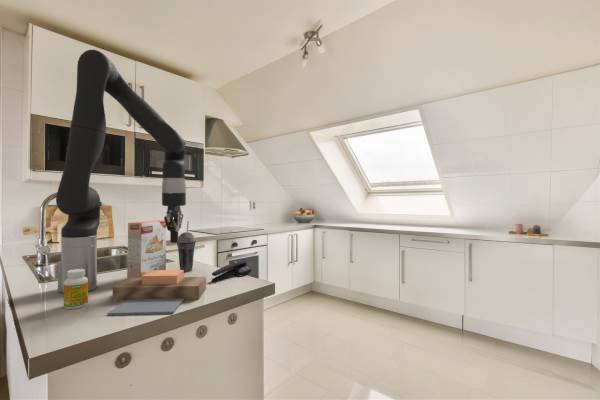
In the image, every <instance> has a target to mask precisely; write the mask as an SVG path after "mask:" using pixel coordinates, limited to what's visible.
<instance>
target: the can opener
mask: <svg viewBox="0 0 600 400" xmlns="http://www.w3.org/2000/svg"><path fill="white" fill-rule="evenodd" d="M247 265H248V264H247V261H246V260H245V259H242V260H238V261H233V262H231V263H230V264H227V265H225V266H223V267H219V268H217V269H216V270H214V271H212V272H211V275H212V277H213V276H214V277H213V278H211V282H213V283H217V282H220V281H222V280H225V279H226V278H229V277H230V276H234V275H236V276H238V277H239V276H240V277H245V276H247V275H249V274H250V273H251V272H252V270H253V269H252V267H251V268H250V267H249V266H247ZM244 275H245V276H244Z"/></svg>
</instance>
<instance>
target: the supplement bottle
mask: <svg viewBox="0 0 600 400" xmlns="http://www.w3.org/2000/svg"><path fill="white" fill-rule="evenodd" d="M84 275H85V269H74V270H70V271H67V277H68V279H66V280H65V281H64V293H63V309H66V310H76V309H80V308H81V309H82V308H84V307H86V306H87V305H88V304H89V291H88V278H87V277H84Z"/></svg>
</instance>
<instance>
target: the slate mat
mask: <svg viewBox="0 0 600 400" xmlns="http://www.w3.org/2000/svg"><path fill="white" fill-rule="evenodd" d="M184 301H185V300H184V298H177V299H130V300H125V301H121V303H120V304H118V305H117V306H115V307H114V308H113V309H112V310H110V311H109V312H108V313H107V316H134V315H135V316H137V315H138V316H139V315H143V316H144V315H173V314H175V312H176V311H177V310H178V308H180V306H181V305H182V304H183V302H184Z"/></svg>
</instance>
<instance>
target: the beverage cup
mask: <svg viewBox="0 0 600 400" xmlns="http://www.w3.org/2000/svg"><path fill="white" fill-rule="evenodd" d="M189 223H190V222H189V220H188V221H187V223H186V231H185V232H182V233H181V234H179V235H178V242H177V243H176V247H177V249H178V250H177V252H178V263H179V270H184V273H188V272H189V273H190V272H192V271H193V266H194V255H195V247H196V237H195V235H194V234H193V233H191V232H189V225H190V224H189Z"/></svg>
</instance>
